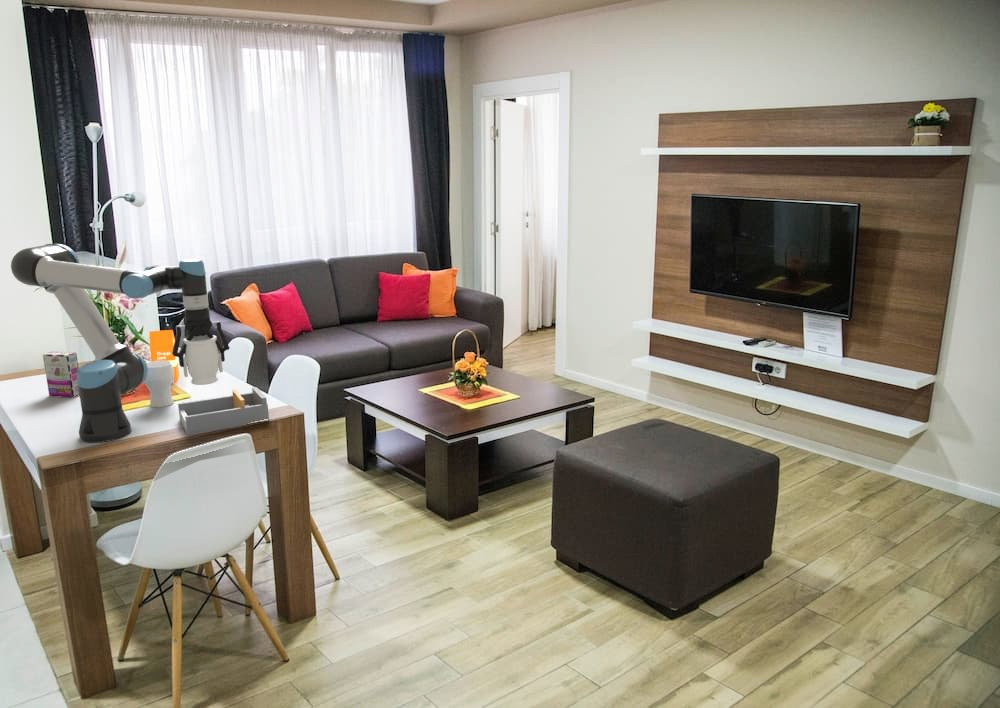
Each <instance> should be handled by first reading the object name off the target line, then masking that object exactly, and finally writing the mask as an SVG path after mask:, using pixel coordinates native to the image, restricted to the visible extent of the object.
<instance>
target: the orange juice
mask: <svg viewBox="0 0 1000 708" xmlns="http://www.w3.org/2000/svg"><path fill="white" fill-rule="evenodd" d="M148 334H149V353H150V352H151V354H150V362H154V361H170V362H171V364H172V366H173V369H174V379H173V382H178V380H179V378H180V370H179V369H180V367H179V357H176V356H173V354H172V351H173V346H174V342H175V335H174V331H173V329H168V330H167V329H165V330H152V331H151V330H150V331H149V333H148Z"/></svg>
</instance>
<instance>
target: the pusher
mask: <svg viewBox="0 0 1000 708" xmlns="http://www.w3.org/2000/svg"><path fill="white" fill-rule="evenodd" d="M231 391H232V392H231V393H232V395H233V402H234V408H241V407H247V406H249V405H245V401H244V399H243V398H242V396H241V395H240V394H241V393H239V391H238V390H237V389H232V390H231Z"/></svg>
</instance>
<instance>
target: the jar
mask: <svg viewBox="0 0 1000 708" xmlns="http://www.w3.org/2000/svg"><path fill="white" fill-rule="evenodd" d="M212 336H213V338H211V339H210V338H209V337H208V336H207V334H206V335H205V336H197V337H195V336H193V338H192V340H191V341H189V340H186V337H184V338H183V339H182V341H183V343H185V344H186V352H185V354H184V356H185V357H186V364H187V372H188V375H190V377H191V380H190V381H191V384H192V385H196V386H205V385H211V384H214V383H216V382H218V380H219V378H218V376H217V374H218V371H219V367H218V363H219V354H218V351H219V349H218V348H217V345H216V343H215V341H217V339H218V337H217V335H214V334H212Z"/></svg>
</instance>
